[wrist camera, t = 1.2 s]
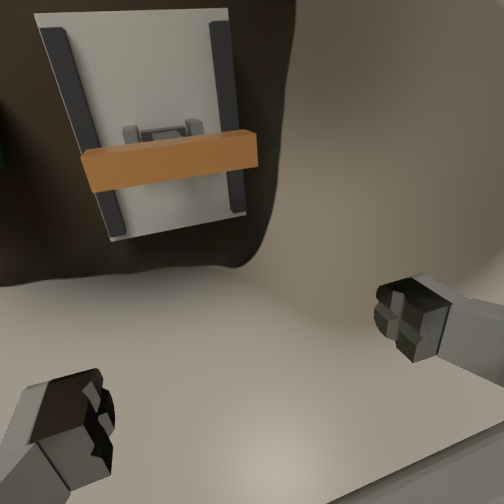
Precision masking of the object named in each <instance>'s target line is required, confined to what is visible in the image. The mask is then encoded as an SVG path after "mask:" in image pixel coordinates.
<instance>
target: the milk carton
mask: <svg viewBox="0 0 504 504" xmlns="http://www.w3.org/2000/svg"><path fill="white" fill-rule="evenodd" d="M4 168H6V163H5V159H4V154H3V149H2V144H1V139H0V170H2V169H4Z"/></svg>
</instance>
